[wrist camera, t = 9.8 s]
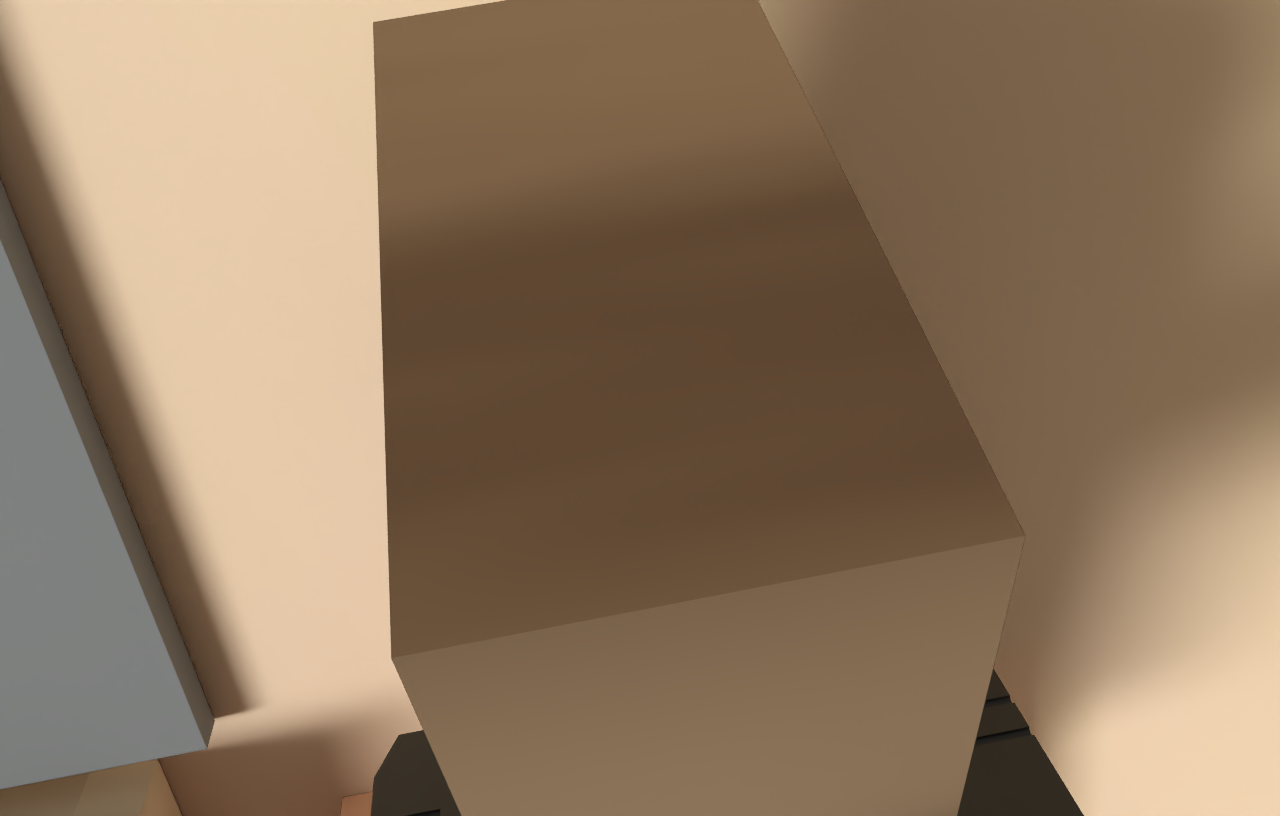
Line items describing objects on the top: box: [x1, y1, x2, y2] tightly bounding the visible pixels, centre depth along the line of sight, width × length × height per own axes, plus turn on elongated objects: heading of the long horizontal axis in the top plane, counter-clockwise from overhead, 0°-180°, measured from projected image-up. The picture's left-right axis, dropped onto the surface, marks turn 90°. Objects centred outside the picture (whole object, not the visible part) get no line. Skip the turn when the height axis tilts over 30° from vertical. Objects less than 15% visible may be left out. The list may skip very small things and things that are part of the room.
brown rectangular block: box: [373, 0, 1025, 816], centre depth 12 cm, size 12×3×6 cm, turn 8°
